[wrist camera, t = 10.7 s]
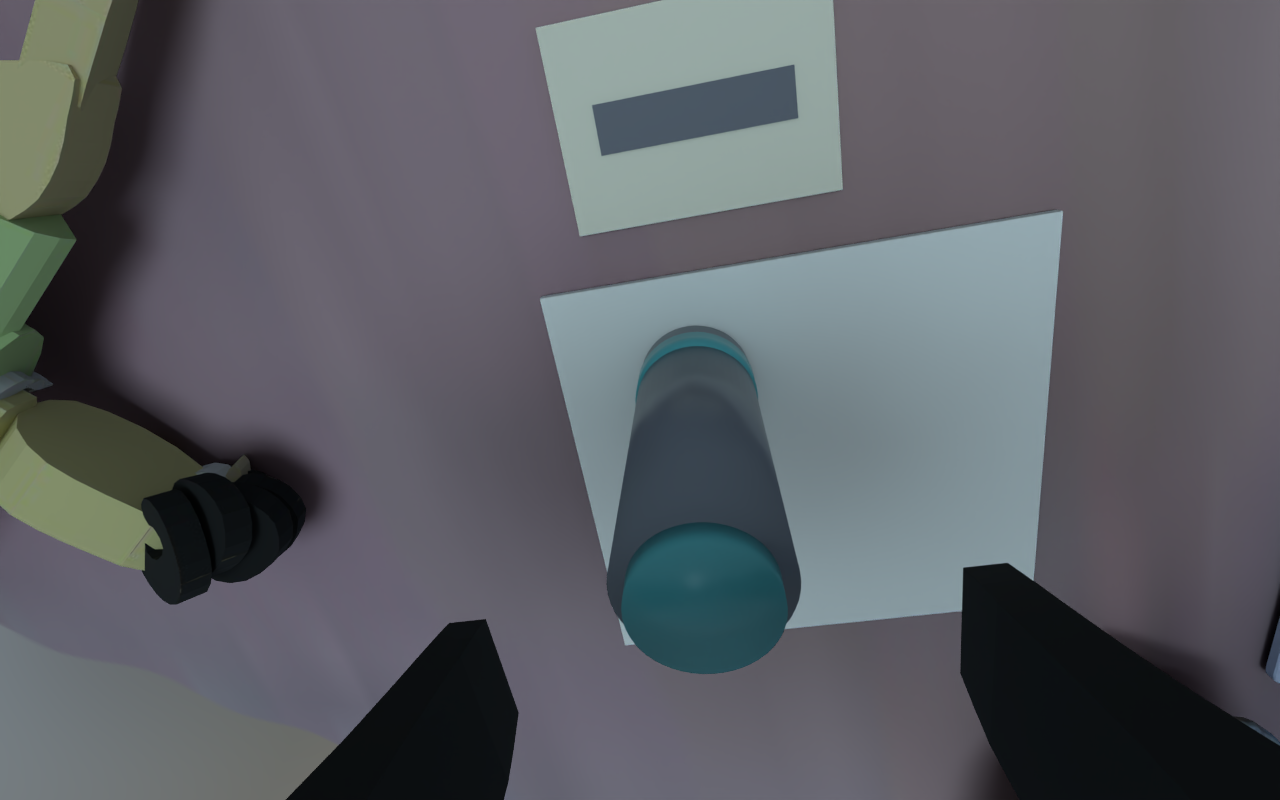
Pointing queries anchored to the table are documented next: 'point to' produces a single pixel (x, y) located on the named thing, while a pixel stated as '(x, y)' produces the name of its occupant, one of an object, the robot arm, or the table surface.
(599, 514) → the paper
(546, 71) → the plate
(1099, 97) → the table surface
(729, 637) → the marker
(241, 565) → the toy
